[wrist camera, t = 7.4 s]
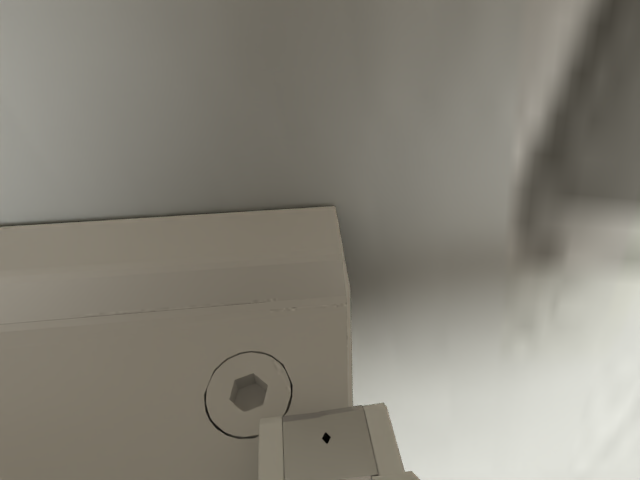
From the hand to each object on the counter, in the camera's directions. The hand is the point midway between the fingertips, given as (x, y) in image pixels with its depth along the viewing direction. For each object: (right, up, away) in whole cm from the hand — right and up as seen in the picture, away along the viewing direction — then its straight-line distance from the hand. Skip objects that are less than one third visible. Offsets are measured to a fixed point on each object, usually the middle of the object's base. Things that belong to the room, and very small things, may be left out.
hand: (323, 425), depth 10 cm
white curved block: (-8, +2, +5) cm, 9 cm away
